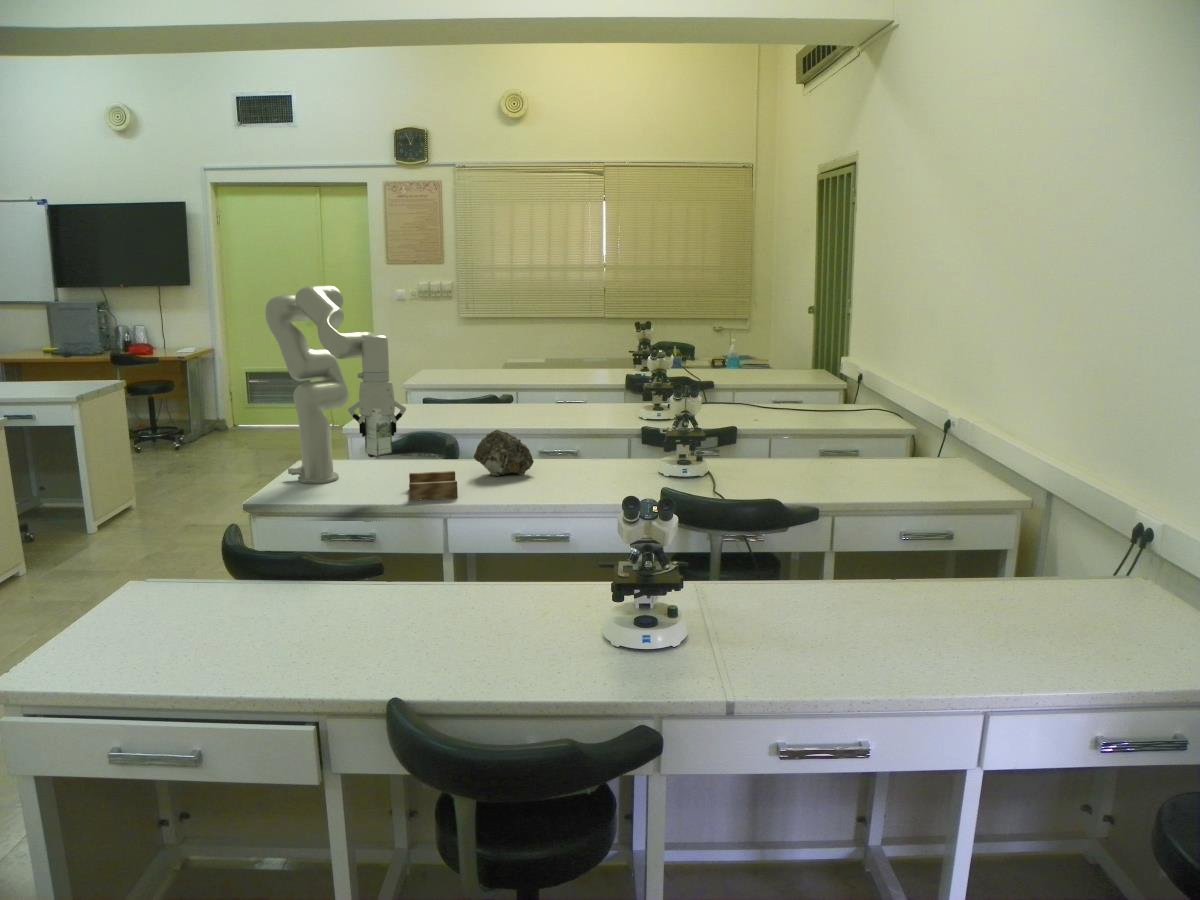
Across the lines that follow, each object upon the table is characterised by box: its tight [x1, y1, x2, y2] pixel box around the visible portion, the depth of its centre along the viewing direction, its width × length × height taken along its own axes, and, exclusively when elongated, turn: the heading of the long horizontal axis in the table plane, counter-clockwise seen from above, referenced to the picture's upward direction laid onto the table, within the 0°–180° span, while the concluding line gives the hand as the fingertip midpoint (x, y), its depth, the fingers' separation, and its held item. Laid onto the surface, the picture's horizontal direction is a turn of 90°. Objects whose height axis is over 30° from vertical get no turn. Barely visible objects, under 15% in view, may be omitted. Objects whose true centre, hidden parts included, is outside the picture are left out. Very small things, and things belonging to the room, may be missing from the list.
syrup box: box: [364, 408, 393, 457], centre depth 270 cm, size 6×6×14 cm
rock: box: [473, 429, 535, 476], centre depth 301 cm, size 18×14×15 cm
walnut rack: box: [408, 470, 459, 501], centre depth 276 cm, size 14×14×5 cm
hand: (378, 435), depth 270 cm, fingers closed on syrup box, 8 cm apart
